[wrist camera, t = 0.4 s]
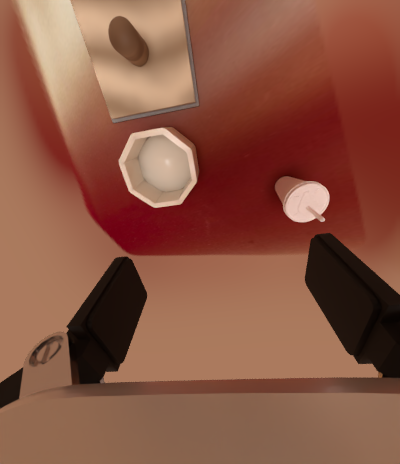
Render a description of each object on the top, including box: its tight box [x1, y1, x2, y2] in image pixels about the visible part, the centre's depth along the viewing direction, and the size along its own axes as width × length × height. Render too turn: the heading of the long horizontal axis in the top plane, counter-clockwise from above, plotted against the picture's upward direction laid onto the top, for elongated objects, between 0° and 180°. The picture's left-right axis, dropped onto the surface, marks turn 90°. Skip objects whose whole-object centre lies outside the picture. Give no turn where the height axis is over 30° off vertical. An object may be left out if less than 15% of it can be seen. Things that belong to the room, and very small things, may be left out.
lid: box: [71, 0, 196, 119], centre depth 24 cm, size 14×14×6 cm
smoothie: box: [275, 176, 329, 222], centre depth 30 cm, size 6×6×14 cm
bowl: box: [119, 127, 199, 208], centre depth 32 cm, size 12×12×7 cm
